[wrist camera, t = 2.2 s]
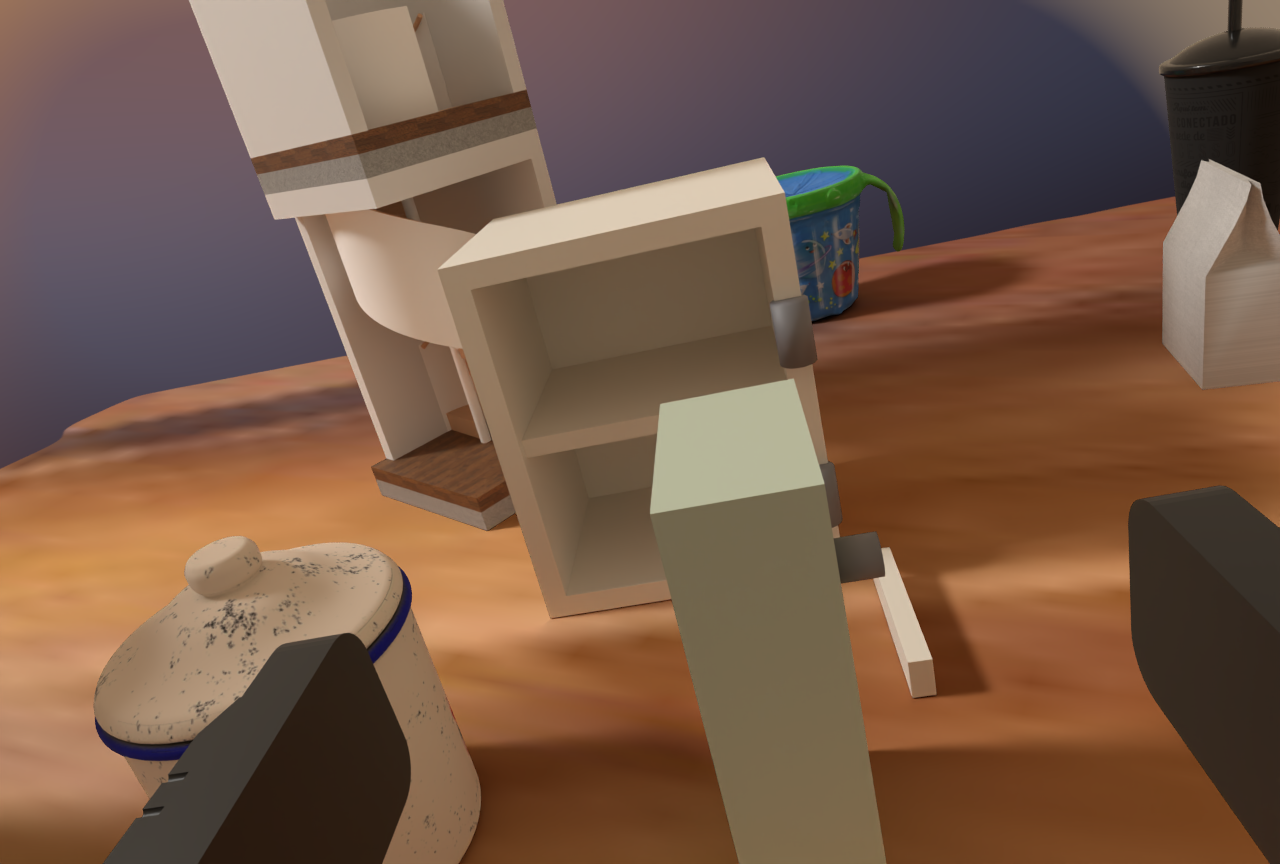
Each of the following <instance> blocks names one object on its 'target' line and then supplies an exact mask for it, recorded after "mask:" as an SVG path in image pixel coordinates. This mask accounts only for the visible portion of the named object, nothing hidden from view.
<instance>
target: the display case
mask: <svg viewBox="0 0 1280 864" xmlns="http://www.w3.org/2000/svg"><path fill="white" fill-rule="evenodd" d="M189 2H190V4H191V7H192V9H193V12H194V14H195V17H196V19H197V22H198V24H199V27H200V30H201V32H202V35H203V37H204V40H205V42H206V45H207V47H208V50H209V53H210V55H211V58H212V60H213V63H214V65H215V68H216V71H217V73H218V76H219V78H220V81H221V83H222V86H223V89H224V91H225V94H226V96H227V99H228V101H229V104H230V107H231V109H232V112H233V114H234V117H235V119H236V122H237V125H238V127H239V130H240V132H241V135H242V137H243V140H244V142H245V145H246V148H247V150H248V153H249V155H250V158H251V160H252V163H253V165H254V168H255V171H256V173H257V176H258V178H259V181H260V183H261V186H262V189H263V191H264V194H265V196H266V199H267V201H268V204H269V207H270V209H271V212H272V214H273V217H274V219H285V218H294V217H295V219H296V221H297V224H298V227H299V230H300V232H301V235H302V237H303V240H304V243H305V245H306V248H307V250H308V253H309V256H310V259H311V261H312V264H313V266H314V269H315V272H316V274H317V277H318V280H319V282H320V285H321V287H322V290H323V292H324V295H325V298H326V300H327V303H328V305H329V308H330V311H331V314H332V316H333V319H334V321H335V324H336V327H337V329H338V332H339V335H340V337H341V340H342V343H343V345H344V348H345V350H346V353H347V356H348V358H349V361H350V364H351V366H352V369H353V371H354V374H355V377H356V379H357V382H358V385H359V387H360V390H361V392H362V395H363V398H364V400H365V403H366V406H367V408H368V411H369V413H370V416H371V419H372V421H373V424H374V427H375V429H376V432H377V435H378V437H379V440H380V442H381V445H382V448H383V450H384V453H385V456H386V458H387V459H385V460H383V461H381V462H379V463H377V464H375V465H373V466H372V467H371V468H372V471H373V473H374V476H375V478H376V481H377V483H378V486H379V488H380V491H381V494H382V495H383V496H386V497H389V498H392V499H395V500H398V501H401V502H404V503H407V504H410V505H413V506H416V507H419V508H422V509H425V510H428V511H430V512H433V513H436V514H439V515H442V516H445V517H448V518H451V519H454V520H457V521H460V522H463V523H466V524H469V525H472V526H475V527H478V528H480V529H483V530H486V531H488V530H490V529H491V528H493V527H494V526H496V525H497V524H499V523H500V522H502V521H504V520H505V519H507V518H508V517H510V516H511V515H513V514H514V513H516V511H515V508H514V505H513V502H512V499H511V496H510V493H509V490H508V487H507V484H506V480H505V477H504V474H503V471H502V468H501V465H500V462H499V459H498V456H497V453H496V450H495V447H494V443H493V440H492V437H491V434H490V431H489V428H488V425H487V422H486V419H485V416H484V413H483V410H482V407H481V403H480V400H479V397H478V394H477V391H476V388H475V385H474V382H473V379H472V376H471V373H470V370H469V366H468V363H467V360H466V357H465V354H464V351H463V348H462V345H461V342H460V339H459V336H458V333H457V330H456V326H455V323H454V320H453V317H452V314H451V311H450V308H449V305H448V302H447V299H446V296H445V293H444V290H443V286H442V283H441V280H440V277H439V274H438V271H437V269H438V268H439V267H441V266H442V265H443V264H444V263H445V262H446V261H447V260H448V259H449V258H451V257H452V256H453V255H454V254H455V253H456V252H457V251H458V250H459V249H461V248H462V247H463V246H464V245H465V244H466V243H467V242H468V241H469V240H471V239H472V238H473V237H474V236H475V235H476V234H477V233H478V232H479V231H481V230H482V229H483V228H484V227H485V226H486V225H487V224H488V223H489V222H491V221H492V220H493V219H496V218H501V217H505V216H510V215H514V214H518V213H523V212H527V211H531V210H536V209H540V208H545V207H549V206H553V205H557V204H556V201H555V197H554V193H553V189H552V185H551V181H550V178H549V174H548V170H547V166H546V162H545V158H544V155H543V151H542V147H541V144H540V139H539V136H538V132H537V128H536V124H535V120H534V117H533V113H532V109H531V105H530V101H529V98H528V94H527V90H526V86H525V82H524V79H523V75H522V71H521V68H520V63H519V60H518V56H517V52H516V48H515V44H514V40H513V37H512V33H511V29H510V25H509V21H508V17H507V14H506V10H505V6H504V2H503V0H189Z"/></svg>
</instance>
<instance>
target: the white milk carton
mask: <svg viewBox="0 0 1280 864" xmlns="http://www.w3.org/2000/svg"><path fill="white" fill-rule="evenodd" d="M1162 344H1163V345H1164V346H1165V347H1166V348H1167V350H1168V351H1169V352H1170V353H1171V354H1172V355H1173V356H1174V358H1175V359H1176V360H1177V361H1178V362H1179V363H1180V365H1181V366H1182V367H1183V368H1184V369H1185V370H1186V371H1187V373H1188V374H1189V375H1190V376H1191V377H1192V378H1193V380H1194V381H1195V382H1196V383H1197V384H1198V385H1199V386H1200V388H1201V389H1202V390H1205V389H1214V388H1223V387H1232V386H1242V385H1251V384H1260V383H1269V382H1278V381H1280V234H1279V233H1278V231H1277V229H1276V227H1275V225H1274V223H1273V222H1272V220H1271V217H1270V215H1269V212H1268V209H1267V207H1266V204H1265V202H1264V199H1263V194H1262V189H1261V184H1260V183H1259V182H1257V181H1255V180H1252V179H1250V178H1248V177H1246V176H1244V175H1242V174H1240V173H1238V172H1235V171H1233V170H1231V169H1229V168H1227V167H1225V166H1223V165H1221V164H1219V163H1216V162H1214V161H1212V160H1210V159H1209V162H1206V161H1202V160H1201V163H1200V167H1199V170H1198V174H1197V177H1196V179H1195V181H1194V183H1193V186H1192V188H1191V190H1190V192H1189V195H1188V197H1187V199H1186V201H1185V203H1184V204H1183V206H1182V208H1181V210H1180V212H1179V214H1178V216H1177V218H1176V219H1175V221H1174V223H1173V225H1172V227H1171V229H1170V231H1169V232H1168V234H1167V236H1166V238H1165V240H1164V242H1163V321H1162Z"/></svg>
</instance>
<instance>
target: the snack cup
mask: <svg viewBox="0 0 1280 864" xmlns="http://www.w3.org/2000/svg"><path fill="white" fill-rule="evenodd" d="M776 178H777V180H778V182H779V184H780V185H781V187H782V189H783V190H784V192H785V197H786V204H787V210H788V216H789V222H790V229H791V235H792V241H793V247H794V253H795V260H796V266H797V272H798V278H799V285H800V291H801V294H803V295H806V296H807V297H808V302H809V308H810V315H811V321H816V320H819V319H822V318H824V317H828V316H831V315H838V314H841V313H842V312H843V311H844V310H846V309H847V308H848V307H850V306H851V305H852V304H853V302H854V301H855V300H856V299H857V298H858V273H859V217H858V212H859V211H858V209H859V206H860V194H861V192H862V190H863V189H864V188H865V187H866V186H867V185H869V184H871V185H873V186H875V187H877V188H879V189H881V190H883V191H885V192H887V196H888V202H889V208H890V213H891V218H892V224H893V229H894V241H893V247H894V249H895V250H896V251H900V250H901V249H902V246H903V241H904V220H903V214H902V211H901V207H900V204H899V202H898V199H897V198H896V195H895V194H894V192H893V191H892V190H891V188H890V187H889V186H888V185H887V184H886V183H885V182H883V181H882V180H880V179H879V178H877V177H875V176H873V175H869V174H866V173H862V171H861V170H860V169H858V168H857V167H853V166H831V167H822V168H814V169H809V170H803V171H798V172H793V173H789V174H784V175H781V176H776Z"/></svg>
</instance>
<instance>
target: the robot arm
mask: <svg viewBox="0 0 1280 864" xmlns="http://www.w3.org/2000/svg"><path fill="white" fill-rule="evenodd" d="M1128 530H1129V565H1130V600H1131V631H1132V640H1133V646H1134V651H1135V655H1136V659H1137V662H1138V665H1139V668H1140V671H1141V674H1142V676H1143V679H1144V681H1145V683H1146V685H1147V687H1148V689H1149V691H1150V693H1151V695H1152V696H1153V698H1154V699H1155V701H1156V703H1157V704H1158V705H1159V707H1160V708H1161V710H1162V711H1163V712H1164V714H1165V715H1166V717H1167V718H1168V720H1169V721H1170V722H1171V724H1172V725H1173V727H1174V728H1175V730H1176V731H1177V732H1178V734H1179V735H1180V737H1181V738H1182V739H1183V741H1184V742H1185V744H1186V745H1187V747H1188V748H1189V749H1190V751H1191V752H1192V754H1193V755H1194V756H1195V758H1196V759H1197V761H1198V762H1199V764H1200V765H1201V766H1202V768H1203V769H1204V771H1205V772H1206V774H1207V775H1208V776H1209V778H1210V779H1211V781H1212V782H1213V783H1214V785H1215V786H1216V788H1217V789H1218V791H1219V792H1220V793H1221V795H1222V796H1223V798H1224V799H1225V801H1226V802H1227V803H1228V805H1229V806H1230V808H1231V809H1232V810H1233V812H1234V813H1235V815H1236V816H1237V818H1238V819H1239V820H1240V822H1241V823H1242V825H1243V826H1244V828H1245V829H1246V830H1247V832H1248V833H1249V835H1250V836H1251V837H1252V839H1253V840H1254V842H1255V843H1256V845H1257V846H1258V847H1259V849H1260V850H1261V852H1262V853H1263V855H1264V856H1265V857H1266V859H1267V860H1268V862H1269V863H1270V864H1280V528H1279V527H1277V526H1276V525H1275V524H1274V523H1273V522H1271V521H1270V520H1269V519H1268V518H1267V517H1265V516H1264V515H1263V514H1262V513H1260V512H1259V511H1258V510H1257V509H1256V508H1254V507H1253V506H1252V505H1251V504H1249V503H1248V502H1247V501H1246V500H1245V499H1243V498H1242V497H1241V496H1240V495H1239V494H1237V493H1236V492H1235V491H1233V490H1232V489H1230V488H1228V487H1226V486H1214V487H1208V488H1202V489H1196V490H1190V491H1185V492H1179V493H1173V494H1167V495H1161V496H1155V497H1149V498H1144V499H1139V500H1136V501H1135V502H1134V503H1133V504H1132V506H1131V509H1130V512H1129V520H1128ZM410 782H411V761H410V754H409V748H408V745H407V741H406V738H405V736H404V734H403V731H402V729H401V727H400V724H399V722H398V720H397V717H396V715H395V713H394V711H393V708H392V706H391V704H390V701H389V699H388V697H387V694H386V692H385V690H384V688H383V685H382V683H381V681H380V678H379V676H378V674H377V672H376V669H375V667H374V665H373V662H372V660H371V658H370V655H369V653H368V651H367V649H366V647H365V645H364V644H363V642H362V641H361V640H360V639H359V638H358V637H357V636H356V635H354V634H352V633H342V634H336V635H331V636H325V637H319V638H313V639H307V640H301V641H295V642H290V643H285V644H282V645H280V646H279V647H278V648H276V650H275V651H274V652H273V653H272V654H271V656H270V657H269V659H268V660H267V662H266V663H265V664H264V666H263V667H262V669H261V670H260V672H259V673H258V674H257V676H256V677H255V679H254V680H253V681H252V683H251V684H250V686H249V687H248V689H247V690H246V691H245V693H244V694H243V696H242V697H239V698H238V699H237V700H236V701H235V702H234V703H233V704H231V705H230V706H229V707H228V708H227V709H226V710H225V711H223V712H222V713H221V714H220V715H219V716H218V717H217V718H215V719H214V720H213V721H212V722H211V723H210V724H209V725H207V726H206V727H205V728H204V729H203V730H202V731H201V732H199V733H198V734H197V735H196V737H195V738H194V740H193V741H192V742H191V744H190V745H189V746H188V748H187V749H186V751H185V752H184V753H183V755H182V756H181V757H180V759H179V760H178V761H177V763H176V764H175V766H174V767H173V768H172V770H171V771H170V772H169V774H168V782H166V783H161V785H160V786H159V787H158V789H157V790H156V792H155V793H154V794H153V796H152V797H151V798H150V800H149V801H148V803H147V804H146V805H145V807H144V808H143V817H141V818H136V819H135V820H134V822H133V823H132V824H131V826H130V827H129V829H128V830H127V831H126V833H125V834H124V835H123V837H122V838H121V839H120V841H119V842H118V844H117V845H116V846H115V848H114V849H113V850H112V852H111V853H110V855H109V856H108V857H107V859H106V860H105V861H104V863H103V864H382V863H383V861H384V858H385V855H386V853H387V850H388V848H389V845H390V843H391V840H392V837H393V835H394V832H395V830H396V827H397V824H398V822H399V819H400V817H401V814H402V812H403V809H404V806H405V804H406V801H407V798H408V794H409V789H410Z"/></svg>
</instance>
